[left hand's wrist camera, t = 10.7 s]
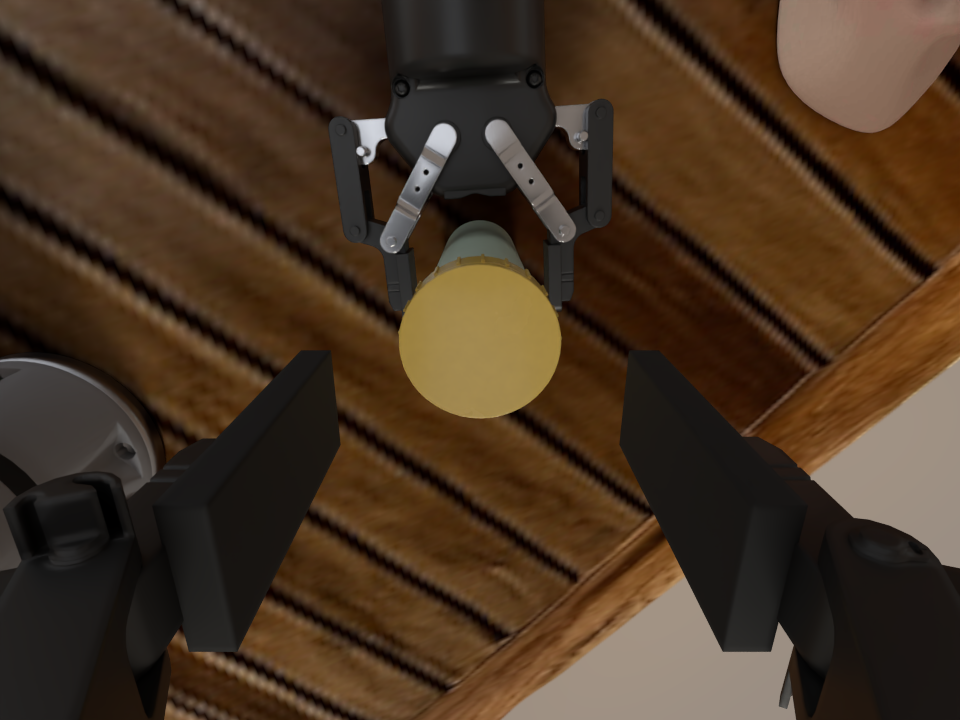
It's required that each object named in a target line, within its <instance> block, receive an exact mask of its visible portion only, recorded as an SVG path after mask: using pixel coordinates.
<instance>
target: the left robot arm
mask: <svg viewBox="0 0 960 720" xmlns="http://www.w3.org/2000/svg"><path fill="white" fill-rule="evenodd" d="M339 447H340V435H339V425H338V416H337V406H336V396H335V387H334V377H333V367H332V358H331V351H300V352H299V353H298V354H297V355H296V356H295V357H294V359H293V360H292V361H291V362H290V363H289V364H288V365H287V366H286V367H285V368H284V369H283V370H282V371H281V372H280V373H279V374H278V375H277V376H276V377H275V378H274V379H273V380H272V381H271V382H270V383H269V384H268V385H267V387H266V388H265V389H264V390H263V391H262V392H261V393H260V394H259V395H258V396H257V397H256V398H255V399H254V400H253V401H252V402H251V403H250V404H249V405H248V406H247V407H246V408H245V409H244V410H243V411H242V412H241V413H240V415H239V416H238V417H237V418H236V419H235V420H234V421H233V422H232V423H231V424H230V425H229V426H228V427H227V428H226V429H225V430H224V431H223V432H222V433H221V434H220V435H219V436H218V437H217V438H216V439H201V440H199V441H197V442H196V443H194V444H192V445H190V446H188V447H186V448H185V449H183V450H181V451H179V452H178V453H177V454H176V455H175V456H174V457H173V458H172V459H171V460H170V461H169V462H167V463H166V464H165V454H164V448H163V444H162V441H161V438H160V435H159V432H158V430H157V428H156V426H155V424H154V422H153V421H152V419H151V417H150V416H149V414H148V413H147V411H146V410H145V409H144V407H143V406H142V405H141V404H140V402H139V401H138V400H137V399H136V398H135V397H134V396H133V395H132V394H131V393H130V392H129V391H128V390H127V389H126V388H125V387H123V386H122V385H121V384H120V383H118V382H117V381H116V380H114V379H113V378H112V377H110V376H109V375H107V374H105V373H104V372H102V371H100V370H98V369H96V368H95V367H93V366H91V365H88V364H86V363H84V362H81V361H78V360H76V359H73V358H70V357H66V356H62V355H57V354H51V353H41V352H25V353H16V354H12V355H7V356H4V357H1V358H0V720H164V716H165V709H166V703H167V696H168V689H169V683H170V676H171V664H170V658H169V654H168V650H167V646H168V644H169V643H170V641H171V640H172V638H173V637H174V635H175V634H176V632H177V631H178V629H179V627H180V626H181V624H182V626H183V630H184V634H185V638H186V642H187V646H188V650H189V652H237V651H238V649H239V647H240V645H241V643H242V641H243V639H244V637H245V635H246V633H247V631H248V629H249V627H250V625H251V623H252V621H253V619H254V617H255V615H256V613H257V611H258V609H259V607H260V605H261V603H262V601H263V599H264V597H265V595H266V593H267V591H268V589H269V587H270V585H271V583H272V581H273V579H274V577H275V575H276V573H277V571H278V569H279V567H280V565H281V563H282V561H283V559H284V557H285V555H286V553H287V551H288V549H289V547H290V545H291V543H292V541H293V539H294V537H295V535H296V533H297V531H298V529H299V527H300V525H301V523H302V521H303V519H304V517H305V515H306V513H307V511H308V509H309V507H310V505H311V503H312V501H313V499H314V497H315V495H316V493H317V491H318V489H319V487H320V485H321V483H322V481H323V479H324V477H325V475H326V473H327V471H328V469H329V467H330V465H331V463H332V461H333V459H334V457H335V455H336V453H337V451H338V449H339ZM620 447H621V449H622V451H623V453H624V455H625V457H626V459H627V461H628V463H629V465H630V467H631V469H632V471H633V473H634V475H635V477H636V479H637V481H638V483H639V485H640V487H641V489H642V491H643V493H644V495H645V497H646V499H647V501H648V503H649V505H650V507H651V509H652V511H653V513H654V515H655V517H656V519H657V521H658V523H659V525H660V527H661V529H662V531H663V533H664V535H665V537H666V539H667V541H668V543H669V545H670V547H671V549H672V551H673V553H674V555H675V557H676V559H677V561H678V563H679V565H680V567H681V569H682V571H683V573H684V575H685V577H686V579H687V581H688V583H689V585H690V587H691V589H692V591H693V593H694V595H695V597H696V599H697V601H698V603H699V605H700V607H701V609H702V611H703V613H704V615H705V617H706V619H707V621H708V623H709V625H710V627H711V629H712V631H713V633H714V635H715V637H716V639H717V641H718V643H719V645H720V647H721V649H722V651H723V652H771V650H772V646H773V642H774V638H775V634H776V630H777V626H778V622H779V623H780V625H781V626H782V628H783V629H784V631H785V632H786V634H787V635H788V637H789V638H790V640H791V641H792V643H793V644H794V647H793V651H792V654H791V658H790V661H789V665H788V669H787V672H786V676H785V680H784V683H783V687H782V691H781V695H780V702H779V706H780V707H783V708H786V709H787V707H788V704H789V700H790V697H791V696H792V695H793V701H794V708H795V714H796V720H960V568H955V567H950V566H945V565H941V563H940V561H939V559H938V558H937V557H936V556H935V555H934V554H933V553H932V552H931V550H930V549H929V548H928V547H927V546H925V545H924V544H922V543H921V542H919V541H918V540H916V539H915V538H914V537H912V536H911V535H909V534H906V533H904V532H902V531H900V530H898V529H896V528H893V527H891V526H889V525H885V524H882V523H878V522H875V521H871V520H867V519H858V518H853V517H852V516H851V515H850V514H849V513H848V512H847V511H846V510H845V509H844V508H843V507H842V506H840V505H839V504H838V503H837V502H836V501H835V500H834V499H833V498H832V497H831V496H830V495H829V494H828V493H827V492H826V491H825V490H824V489H823V488H821V487H820V486H819V485H818V484H817V483H816V482H815V481H814V480H811V479H810V476H809V475H808V474H807V473H806V472H805V471H803V470H802V469H801V468H798V467H797V464H796V463H795V462H794V461H793V460H792V459H791V458H790V457H789V456H788V455H787V454H785V453H784V452H783V451H782V450H781V449H779V448H777V447H776V446H774V445H772V444H770V443H768V442H766V441H764V440H763V439H761V438H759V437H742V436H741V435H740V434H739V433H738V432H737V431H736V430H735V429H734V428H733V427H732V426H731V425H730V424H729V423H728V422H727V421H726V420H725V419H724V418H723V417H722V416H721V415H720V413H719V412H718V411H717V410H716V409H715V408H714V407H713V406H712V405H711V404H710V403H709V402H708V401H707V400H706V399H705V398H704V397H703V396H702V395H701V394H700V393H699V392H698V391H697V390H696V389H695V388H694V387H693V385H692V384H691V383H690V382H689V381H688V380H687V379H686V378H685V377H684V376H683V375H682V374H681V373H680V372H679V371H678V370H677V369H676V368H675V367H674V366H673V365H672V364H671V363H670V362H669V361H668V360H667V359H666V357H665V356H664V355H663V354H662V353H661V352H660V351H629V358H628V367H627V377H626V387H625V396H624V406H623V416H622V425H621V435H620Z"/></svg>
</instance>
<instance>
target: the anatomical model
mask: <svg viewBox="0 0 960 720" xmlns="http://www.w3.org/2000/svg"><path fill="white" fill-rule="evenodd" d="M959 45H960V0H780V5H779V15H778V29H777V52H778V60H779V65H780V69H781V71H782V74H783V76H784V78H785V80H786V82H787V84H788V85H789V87H790V88H791V89H792V91H793V92H794V93H795V94H796V95H797V96H798V97H799V98H800V99H801V100H802V101H803V102H804V103H805V104H807V105H808V106H809V107H810V108H812V109H813V110H814V111H816V112H818V113H819V114H821V115H823V116H824V117H826V118H828V119H829V120H831V121H834V122H836V123H838V124H840V125H842V126H844V127H847V128H850V129H852V130H855V131H860V132H867V133H873V132H878V131H881V130H883V129H886V128H888V127H889V126H891V125H892V124H894V123H895V122H896V121H897V120H899V119H900V118H901V117H902V116H903V115H904V114H905V113H906V112H907V111H908V110H909V109H910V108H911V107H912V106H913V105H914V104H915V102H916V101H917V100H918V99H919V98H920V97H921V96H922V95H923V93H924V92H925V91H926V90H927V89H928V88H929V87H930V86H931V84H932V83H933V82H934V81H935V80H936V78H937V77H938V76H939V74H940V73H941V72H942V70H943V69H944V67H945V66H946V64H947V63H948V62H949V60H950V59H951V57H952V56H953V54H954V53H955V51H956V50H957V48H958V47H959Z"/></svg>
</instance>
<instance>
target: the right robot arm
mask: <svg viewBox="0 0 960 720" xmlns="http://www.w3.org/2000/svg"><path fill="white" fill-rule="evenodd" d="M381 1H382V11H383V20H384V29H385V38H386V47H387V57H388V66H389V75H390V84H391V102H390V106H389V110H388V112H387V115H386V118H381V119H367V120H351V119H348V118H345V117H341V116H339V117H335V118H333V119H332V120H331V122H330V124H329V128H328V129H329V137H330V144H331V150H332V157H333V164H334V170H335V177H336V184H337V191H338V197H339V204H340V211H341V218H342V224H343V231H344V235H345V237H346V238H347V239H348V240H349V241H351V242H354V243H358V242H360V243H364V244H367V245H371V246H374V247H376V248H377V249H379V250H380V252H381V253H382V255H383V257H384V264H385V272H386V280H387V288H388V296H389V303H390V304H391V306H392V308H393V310H394V311H399V310H402V315H403V316H404V313H405V312H404V311H403V310H404V308H405V306H406V304H407V302H408V300H409V301H411V299H412V297H413V295H414V293H415V292H416V291H415V289H416V287H417V278H416V269H415V260H414V250H413V248H409V243H408V240H409V238H410V236H411V234H412V232H413V230H414V228H415V226H416V225H417V223H418V221H419V219H420V217H421V215H422V213H423V212H424V210H425V208H426V206H427V205H428V203H429V201H430V199H431V197H432V195H433V194H435V195H437V196H439V197H442V198H445V199H458V198H462V197H465V196H468V195H471V194H474V193H477V194H482V195H487V196H503V195H506V194H507V193H509V192H511V191H513V190H514V189H516V188H518V189H519V191H520V192H521V194H522V195H523V196H524V198H525V199H526V201H527V202H528V203H529V205H530V206H531V207H532V209H533V210H534V212H535V213H536V214H537V216H538V217H539V219H540V220H541V222H542V223H543V224H544V226H545V227H546V229H547V240H543V249H544V287H545V289H546V291H547V293H548V296H547V297H548V299H549V301H550V303H551V305H554V307H555V309H556V311H557V312H561V310H562V301H570V299H571V296H572V294H573V291H574V282H573V280H574V274H573V272H574V268H573V247H574V243H575V240H576V239H577V237H578V236H579V235H581V234H582V233H585V232H587V231H589V230H591V229H594V228H596V227H597V228H600V227H604V226H605V225H607V224H608V223H609V221H610V219H611V207H612V158H613V107H612V104H611V103H610V102H609V101H608V100H606V99H598V100H595V101H593V102H591V103H589V104H581V105H567V106H555V105H554V103H553V102H552V100H551V98H550V96H549V93H548V91H547V87H546V78H545V26H544V0H381ZM555 128H559V129H561V130H562V131H563V132H564V133H565V136H566V141H567V144H568V146H569V147H570V148H572V149H574V150H579V206H577V207H575V208H572V209H570V210H568V211H565V209H564V208H563V206H562V205H561V203H560V202H559V200H558V199H557V197H556V196H555V194H554V192H553V190H552V189H551V187H550V186H549V184H548V183H547V181H546V180H545V178H544V177H543V176H542V174H541V173H540V171H539V170H538V168H537V167H536V165H535V164H534V161H535V160H536V158H537V157H538V155H539V153H540V152H541V150H542V149H543V147H544V145H545V144H546V142H547V141H548V139H549V137H550V136H551V134H552V133H553V131H554V129H555ZM387 139H388V140H389V142H390V143H391V144H392V146H393V147H394V148H395V149H396V150H397V152H398V153H399V154H400V155H401V157H402V158H403V159H404V160H405V161H406V163H407V164H408V165H409V166H410V168H411V169H412V170H413V171H412V173H411V175H410V177H409V179H408V181H407V183H406V185H405V187H404V189H403V191H402V193H401V195H400V197H399V199H398V201H397V204H396V207H395V209H394V211H393V213H392V215H391V217H390V219H389V221H388V223H387V222H384V221H381V220H377V219H375V217H374V209H373V202H372V194H371V186H370V178H369V170H368V164H372V163H374V162H375V161H376V160H377V158H378V156H379V147H380V145H381V143H382V142H383V141H385V140H387Z"/></svg>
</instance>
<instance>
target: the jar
mask: <svg viewBox="0 0 960 720" xmlns="http://www.w3.org/2000/svg"><path fill="white" fill-rule="evenodd" d="M481 254H484V256H489V257H495V258H500V259H503V260H504V259H505V258H507V259H508V261H509V262H511V263H513V264H515V265H517V266H519V267H520V268H522V269H524V267H523V265H522V263H521V260H520V258H519V256H518V253H517V251H516V248H515V246H514V244H513V242H512V240H511V238H510V236H509V235H508V233H507V232H506V231H505V230H504V229H503V228H501V227H500V226H498V225H497V224H495V223H492V222H489V221H484V220H477V221H471V222H468V223H465V224H463V225H461V226H460V227H459V228H457V229H456V230H455V231H454V232H453V233H452V235H451V236H450V238H449V239H448V242H447V244H446V246H445V249H444V251H443V253H442V256H441V258H440V260H439V263H438V265H437V266H439V267H441V266H443V265H445V264H447V263H449V262H452V261H454V260H457V257H459V256H460V257H461V258H465V257H472V256H481Z"/></svg>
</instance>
